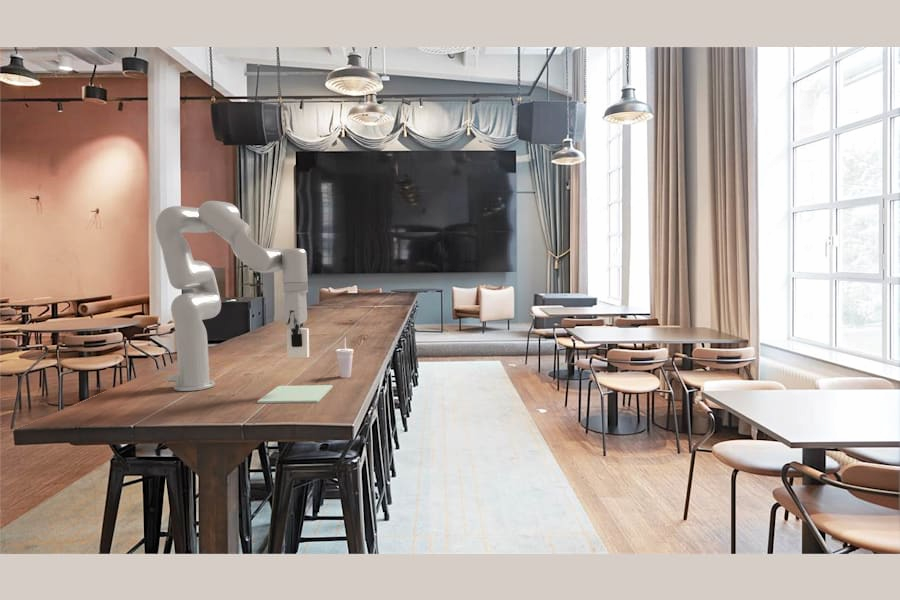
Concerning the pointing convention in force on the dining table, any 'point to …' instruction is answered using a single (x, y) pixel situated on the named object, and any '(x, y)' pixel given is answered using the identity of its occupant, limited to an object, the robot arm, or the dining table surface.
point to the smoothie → (345, 361)
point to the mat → (296, 394)
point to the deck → (298, 351)
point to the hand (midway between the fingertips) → (298, 345)
